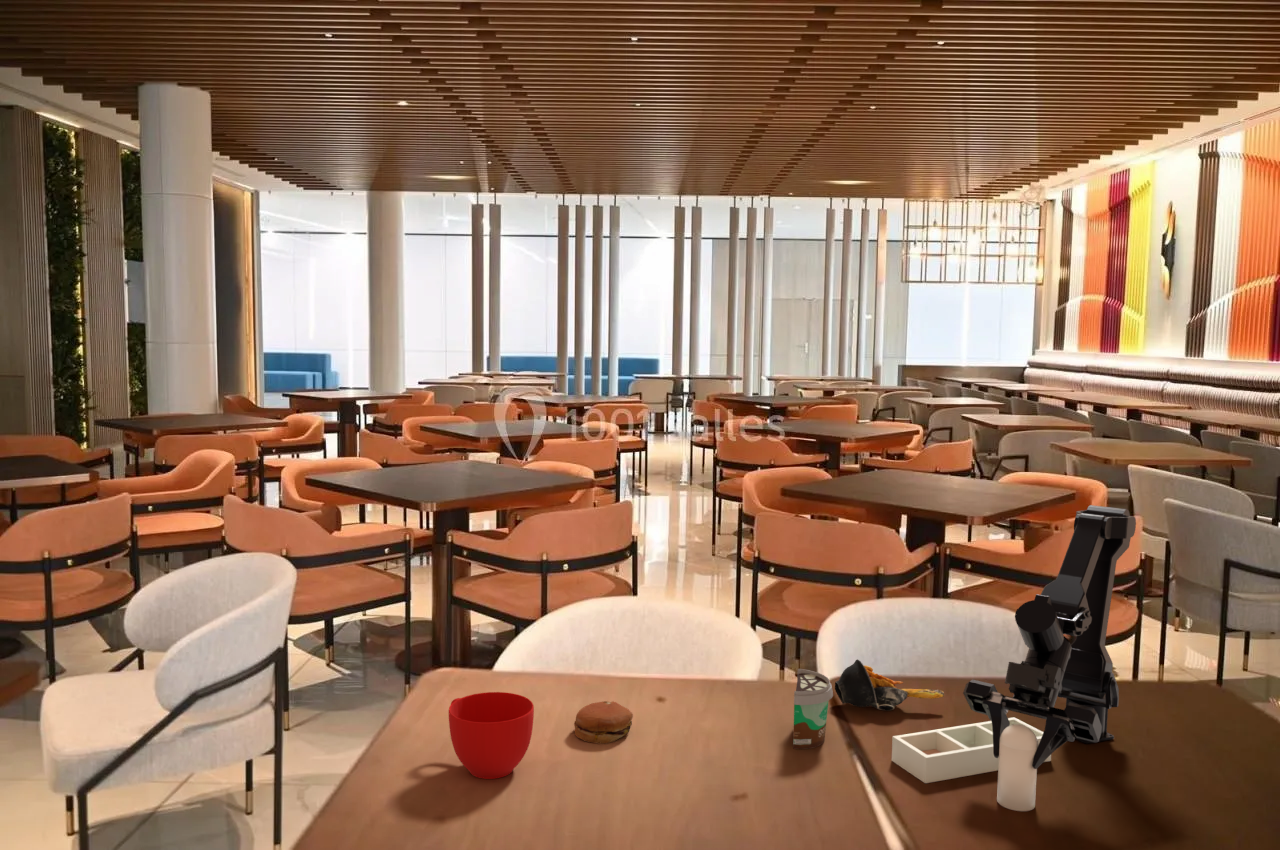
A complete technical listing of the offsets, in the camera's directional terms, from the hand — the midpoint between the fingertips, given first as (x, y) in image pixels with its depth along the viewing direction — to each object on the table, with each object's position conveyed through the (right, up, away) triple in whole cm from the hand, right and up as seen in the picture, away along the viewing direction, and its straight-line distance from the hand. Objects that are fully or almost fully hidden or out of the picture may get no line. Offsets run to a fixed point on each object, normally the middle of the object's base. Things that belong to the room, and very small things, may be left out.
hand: (1014, 762), depth 145 cm
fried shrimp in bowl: (-9, -3, +38) cm, 40 cm away
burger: (-60, -4, +25) cm, 65 cm away
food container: (-25, -4, +24) cm, 35 cm away
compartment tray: (-1, -5, +16) cm, 17 cm away
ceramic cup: (-78, -5, +12) cm, 79 cm away
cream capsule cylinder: (+1, -7, +2) cm, 7 cm away
